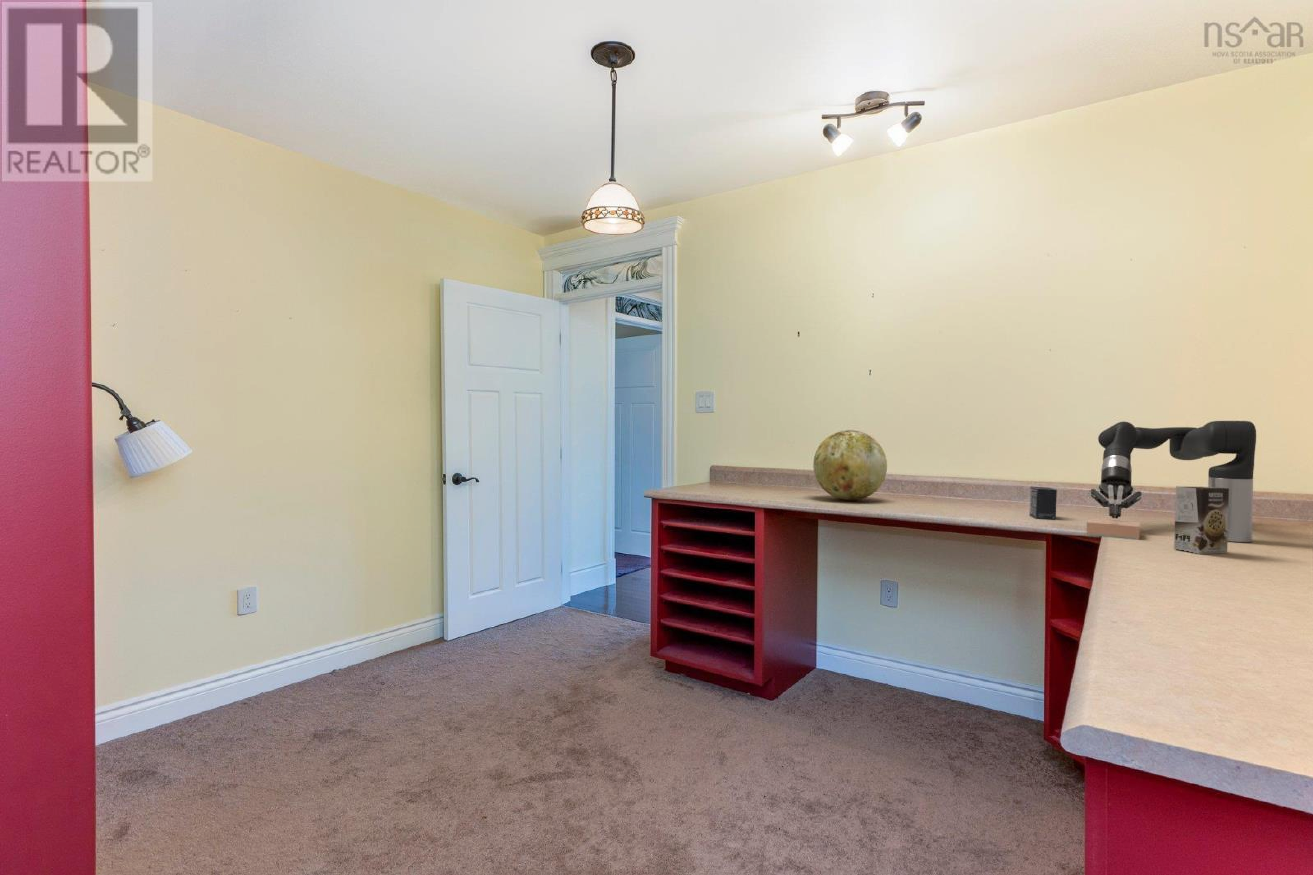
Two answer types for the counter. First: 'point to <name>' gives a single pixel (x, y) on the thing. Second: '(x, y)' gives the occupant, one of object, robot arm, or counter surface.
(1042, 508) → the small box
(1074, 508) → the counter surface
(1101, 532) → the tile
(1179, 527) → the coffee box
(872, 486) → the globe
